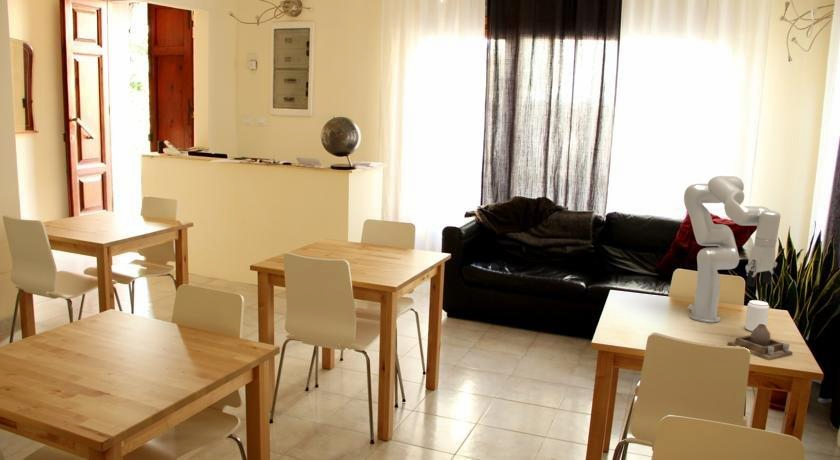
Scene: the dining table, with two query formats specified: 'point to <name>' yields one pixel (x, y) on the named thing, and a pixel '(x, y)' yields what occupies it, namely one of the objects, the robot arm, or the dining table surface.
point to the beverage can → (756, 314)
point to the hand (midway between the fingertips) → (758, 284)
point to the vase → (760, 335)
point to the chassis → (763, 348)
